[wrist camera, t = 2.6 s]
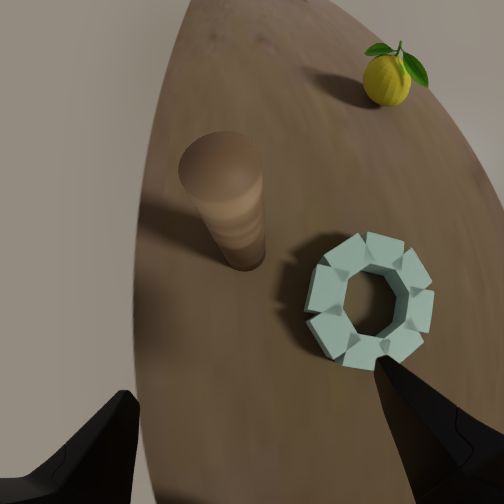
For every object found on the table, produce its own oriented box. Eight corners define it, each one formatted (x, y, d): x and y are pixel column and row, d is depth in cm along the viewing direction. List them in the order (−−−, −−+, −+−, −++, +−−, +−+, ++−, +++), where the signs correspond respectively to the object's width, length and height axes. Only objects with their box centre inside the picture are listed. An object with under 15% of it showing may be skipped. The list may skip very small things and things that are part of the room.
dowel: (259, 275, 23) (248, 208, 10) (220, 266, 23) (166, 192, 10) (269, 237, 23) (269, 137, 11) (231, 228, 24) (195, 127, 11)
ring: (405, 372, 19) (419, 375, 17) (292, 353, 21) (295, 356, 18) (423, 258, 22) (437, 251, 20) (320, 231, 23) (325, 220, 21)
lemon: (407, 126, 26) (439, 67, 17) (362, 118, 27) (386, 50, 17) (394, 91, 28) (416, 34, 18) (353, 83, 28) (369, 21, 19)
